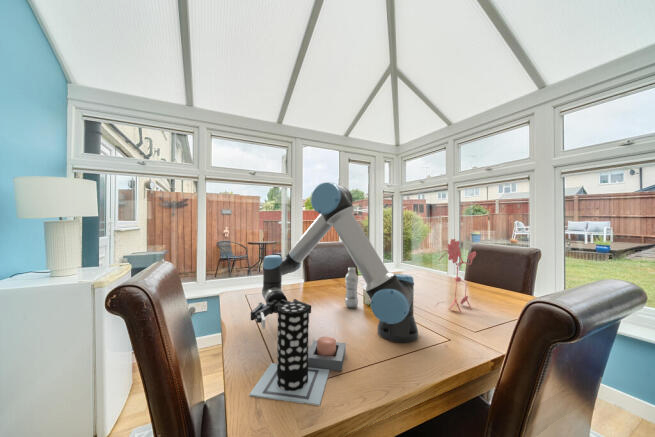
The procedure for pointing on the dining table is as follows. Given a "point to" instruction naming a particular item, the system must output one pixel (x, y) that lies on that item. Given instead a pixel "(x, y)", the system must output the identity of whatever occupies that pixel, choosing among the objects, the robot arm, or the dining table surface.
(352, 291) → the plastic bottle
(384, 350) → the dining table surface
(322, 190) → the robot arm
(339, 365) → the button housing
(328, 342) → the button
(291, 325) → the white-spotted black cylinder
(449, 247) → the figurine
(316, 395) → the drawing pad
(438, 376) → the dining table surface
